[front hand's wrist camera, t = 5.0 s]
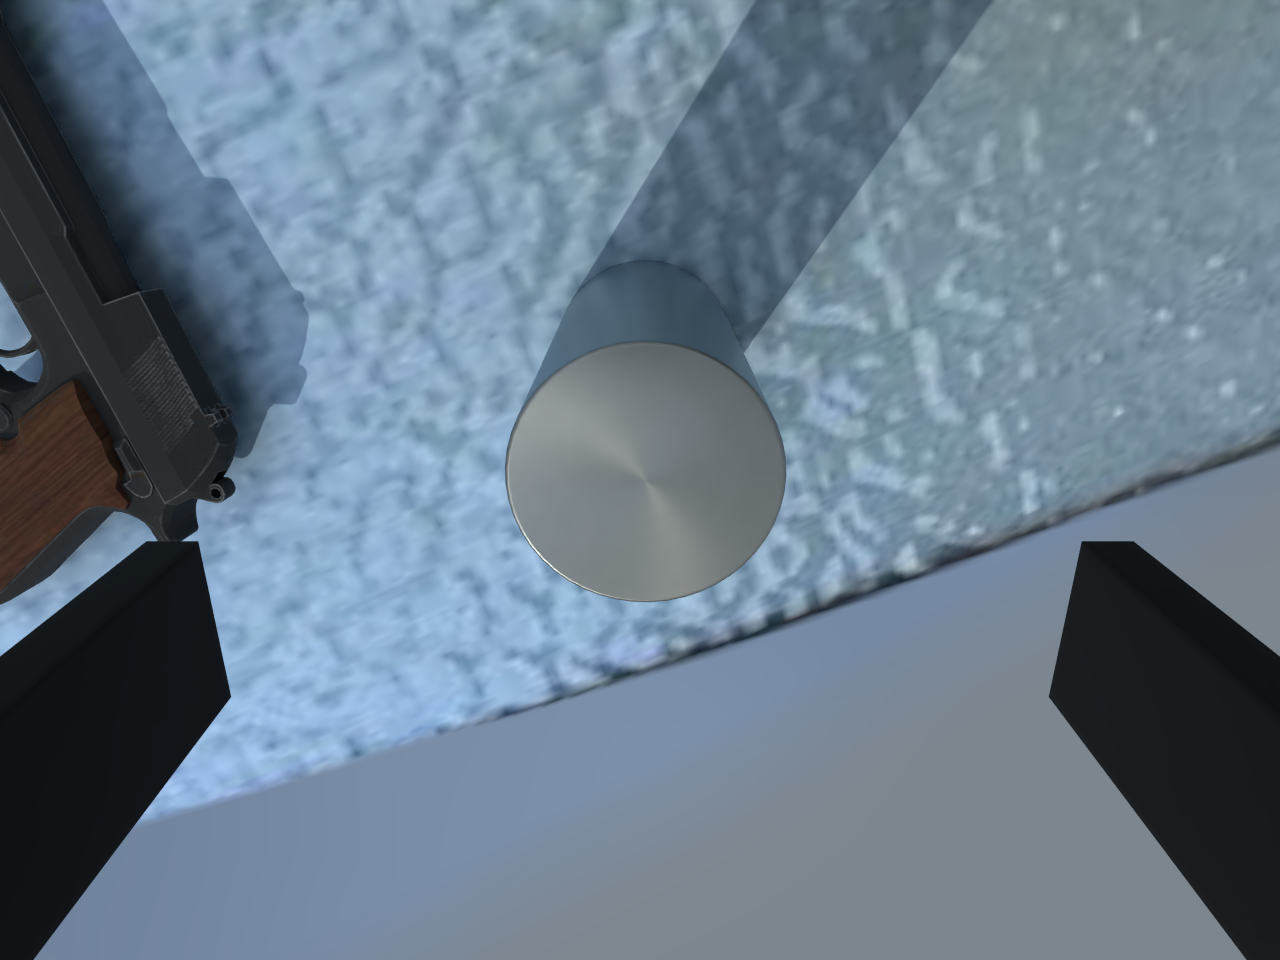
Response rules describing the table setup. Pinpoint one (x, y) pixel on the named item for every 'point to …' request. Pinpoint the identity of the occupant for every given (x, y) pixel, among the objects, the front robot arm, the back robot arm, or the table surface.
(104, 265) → the handgun
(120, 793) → the front robot arm
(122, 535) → the table surface
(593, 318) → the tin
